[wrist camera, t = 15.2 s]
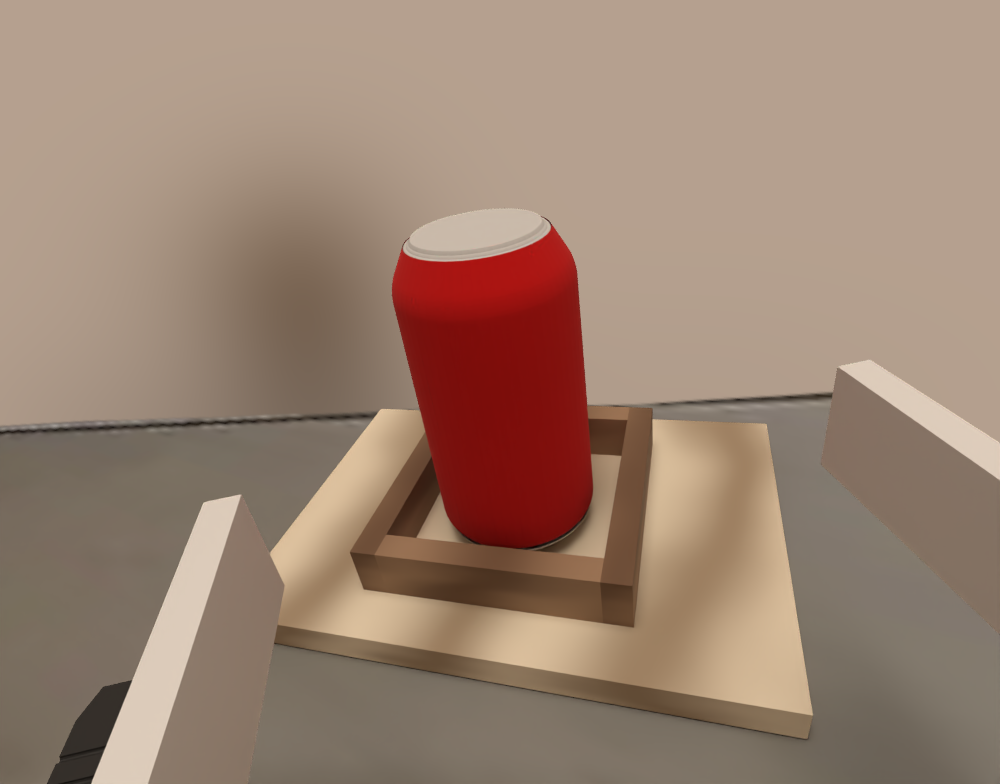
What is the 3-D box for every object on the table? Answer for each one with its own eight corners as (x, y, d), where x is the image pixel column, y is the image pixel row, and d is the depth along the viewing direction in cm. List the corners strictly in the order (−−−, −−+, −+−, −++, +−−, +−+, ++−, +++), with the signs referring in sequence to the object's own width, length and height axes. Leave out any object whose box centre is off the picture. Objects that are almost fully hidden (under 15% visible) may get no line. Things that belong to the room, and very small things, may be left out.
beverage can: (476, 591, 22) (404, 280, 16) (431, 492, 27) (363, 228, 21) (623, 531, 23) (610, 226, 17) (554, 448, 28) (525, 190, 22)
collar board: (233, 635, 23) (201, 578, 21) (386, 426, 34) (372, 378, 33) (807, 739, 17) (822, 671, 15) (764, 444, 28) (770, 387, 27)
